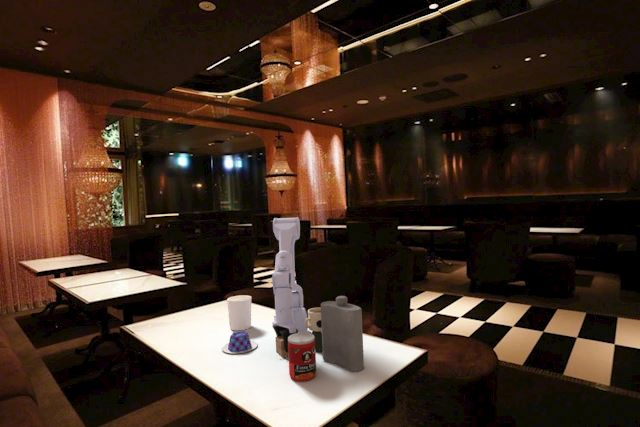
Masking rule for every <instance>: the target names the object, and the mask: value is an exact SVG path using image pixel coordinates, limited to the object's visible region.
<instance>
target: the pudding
mask: <svg viewBox="0 0 640 427" xmlns="http://www.w3.org/2000/svg"><path fill="white" fill-rule="evenodd" d="M257 347H258V342H256V341H255V340H251V339H250V336H249V333H248V332H247V331H245V330H240V331H234V332H232V333H231V335H230V337H229V340H228V343H227V344H225V345H223V347H221V350H222V352H224V353H227V354H234V353H238V354H243V353H244V354H245V353H248V352H250V351H252V350H254V349H256V348H257Z"/></svg>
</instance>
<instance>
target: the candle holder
mask: <svg viewBox="0 0 640 427" xmlns="http://www.w3.org/2000/svg"><path fill="white" fill-rule="evenodd" d="M252 298H253V297H252V296H251V295H246V294H245V295H244V294H242V295H241V294H239V295H235V296H233V295H232V296H229V297H228V298H227V299H226V301H227V302H226V304H227V312H228V321H229V329H230V330H231V331H234V332H238V331H245V330H248V329H250V328H251V326H252Z"/></svg>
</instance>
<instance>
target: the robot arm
mask: <svg viewBox="0 0 640 427" xmlns="http://www.w3.org/2000/svg"><path fill="white" fill-rule="evenodd" d="M272 231H273V233H274V236H275V238H276V239H275V240H277V241H278V246H279V252H278V253H276V254H275V261H274V262H275V263H274V264H275V265H274V272H273V273H272V276H271V281H272V282H271V284H272V289H273V295H274V310H275V315H274V316H273V317H274V321H272V328H273V330H274V332H275V335H276V337H278V336H282V338H283V341H284V347H285V351H286V352H288V337H289V336H290V335H292V334H295V333H301V332H306V333H309V328H306V327H305V319H306V318H308V312H307V310H306V308H305V307H304V294H303V293H304V292H303V288H302V287H301V285H299V284H297V283H296V271H295V270H296V268H295V266H296V265H295V262H296V261H295V243H296V241H297V240H299V239H300V236H301V223H300V218H299V217H298V216H297V217H280V218H278V217H274V218H273V220H272Z"/></svg>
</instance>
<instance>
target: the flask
mask: <svg viewBox="0 0 640 427" xmlns="http://www.w3.org/2000/svg"><path fill="white" fill-rule="evenodd" d="M320 307H321V324H322V347H323V350H322V359H323V360H324V361H325V362H328V363H332V364H334V365H338V366H340V367H343V368H345V369H347V370H348V371H350V372H352V373H353V372H354V373H355V372H361V371H363V370H364V369H365V361H364V360H365V358H364V338H363V337H364V335H363V334H364V333H363V313H362V312H363V310H362V307H360V306H358V305H356V304H352V303H348V297H347V296H345V295H339V296H338V295H337V297H336V298H335V300H327V301H322V302H321V303H320Z"/></svg>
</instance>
